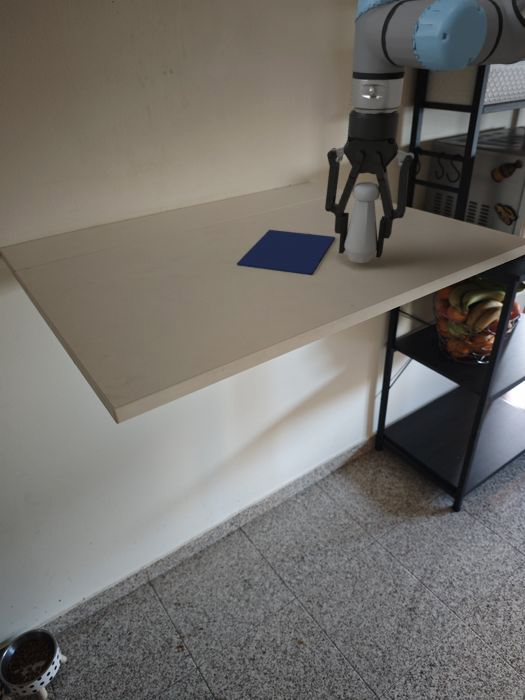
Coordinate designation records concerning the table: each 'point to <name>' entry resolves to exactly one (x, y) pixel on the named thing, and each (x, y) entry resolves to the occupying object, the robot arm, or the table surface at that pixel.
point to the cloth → (287, 252)
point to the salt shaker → (363, 224)
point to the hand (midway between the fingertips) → (360, 252)
